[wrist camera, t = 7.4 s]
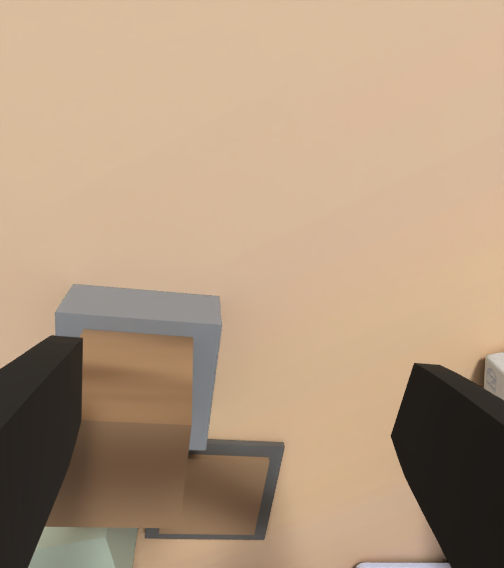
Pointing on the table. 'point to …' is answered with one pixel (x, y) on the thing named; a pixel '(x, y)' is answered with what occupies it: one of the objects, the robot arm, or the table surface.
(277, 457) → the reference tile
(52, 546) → the sage block
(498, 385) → the light bulb box
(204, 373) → the base block
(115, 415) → the walnut block
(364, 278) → the table surface
